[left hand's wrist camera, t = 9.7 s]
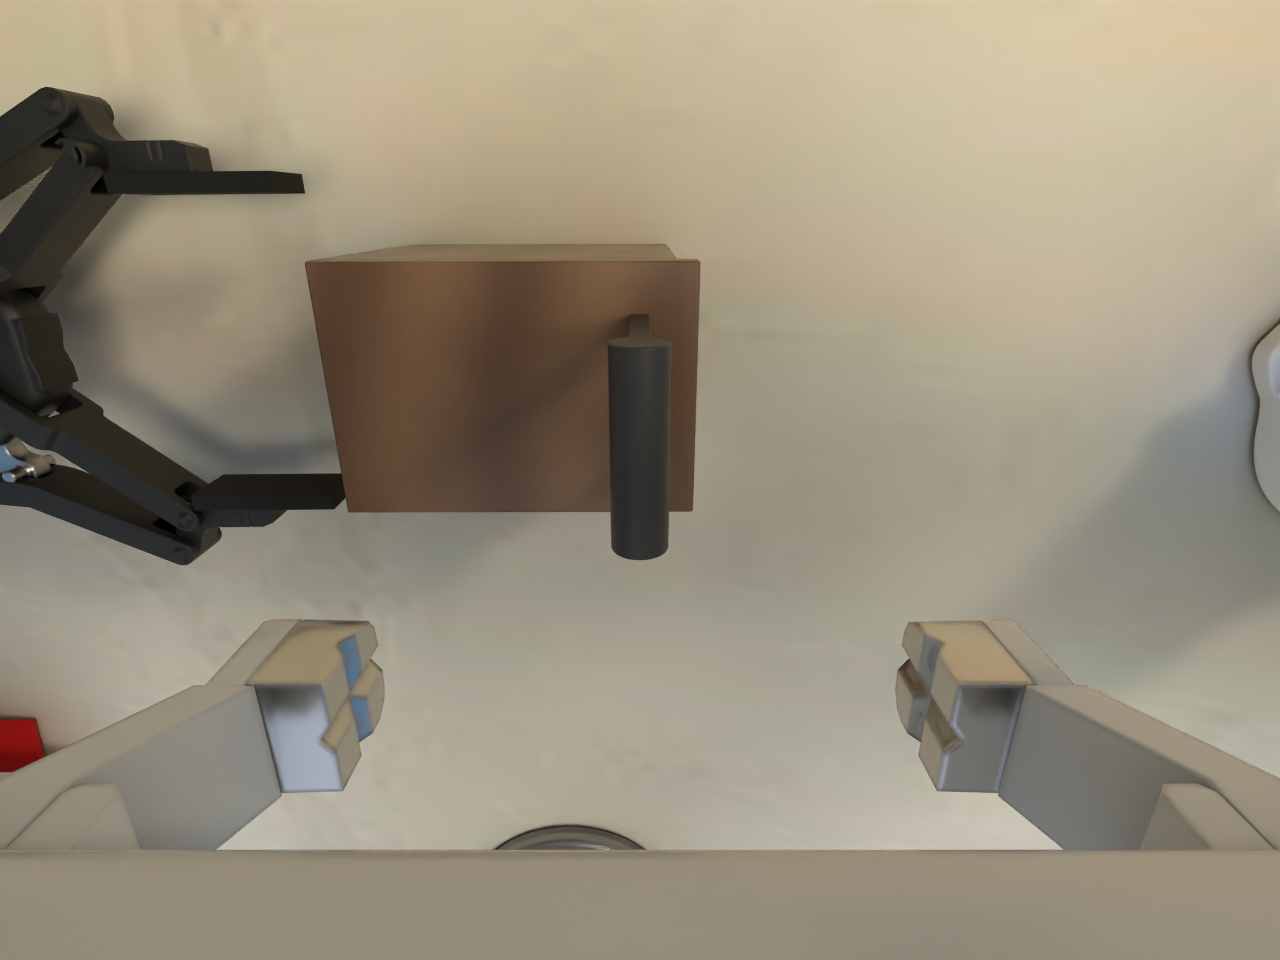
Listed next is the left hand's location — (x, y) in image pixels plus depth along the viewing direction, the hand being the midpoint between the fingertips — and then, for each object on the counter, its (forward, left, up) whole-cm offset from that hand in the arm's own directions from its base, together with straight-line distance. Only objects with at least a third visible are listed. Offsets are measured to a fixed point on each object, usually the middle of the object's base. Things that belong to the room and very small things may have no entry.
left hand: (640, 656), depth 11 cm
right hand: (+6, -13, -22) cm, 26 cm away
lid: (+2, -4, -17) cm, 18 cm away
